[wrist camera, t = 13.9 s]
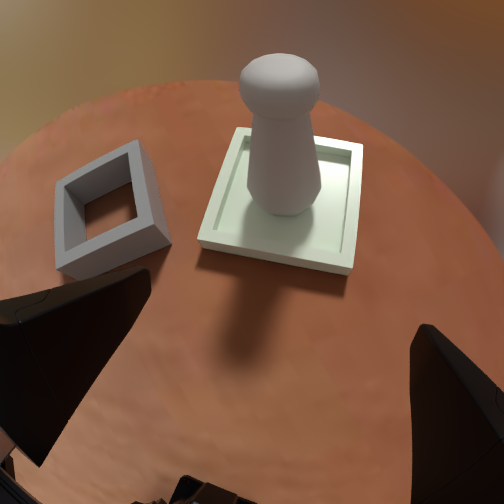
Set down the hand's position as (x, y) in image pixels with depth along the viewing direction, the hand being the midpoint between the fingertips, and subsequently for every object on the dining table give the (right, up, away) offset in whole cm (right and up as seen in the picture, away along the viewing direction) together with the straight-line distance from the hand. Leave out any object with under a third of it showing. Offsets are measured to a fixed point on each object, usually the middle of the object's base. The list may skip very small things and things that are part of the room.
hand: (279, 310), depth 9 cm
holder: (-14, +5, +18) cm, 24 cm away
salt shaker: (+2, +6, +16) cm, 18 cm away
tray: (+2, +7, +17) cm, 18 cm away
